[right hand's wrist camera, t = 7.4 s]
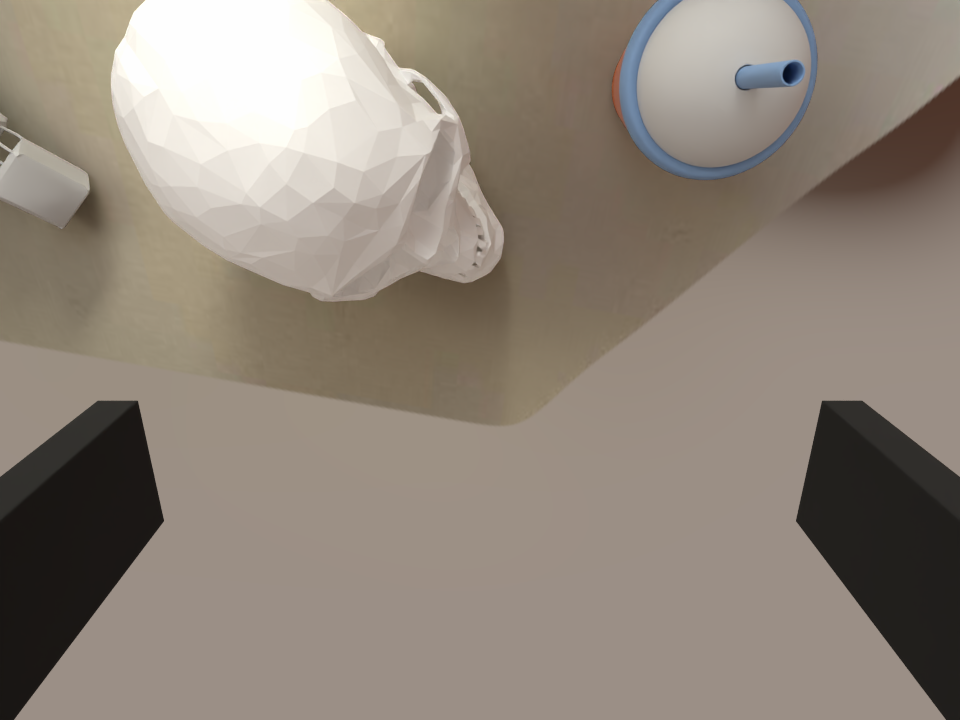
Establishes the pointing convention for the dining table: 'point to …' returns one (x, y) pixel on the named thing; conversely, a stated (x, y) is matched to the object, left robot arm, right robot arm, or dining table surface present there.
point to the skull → (299, 147)
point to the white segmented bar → (41, 181)
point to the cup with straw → (715, 83)
